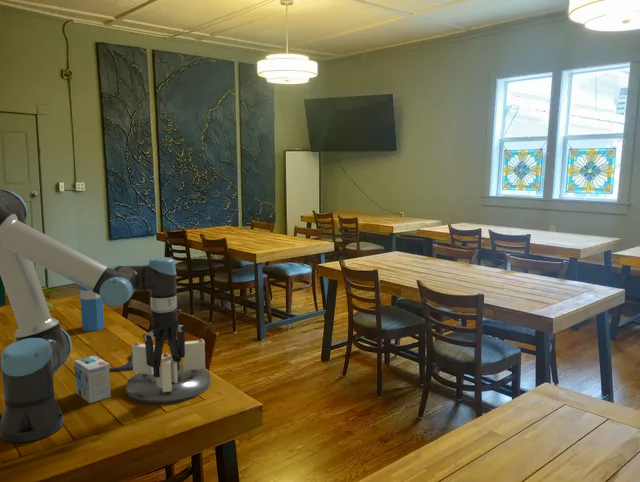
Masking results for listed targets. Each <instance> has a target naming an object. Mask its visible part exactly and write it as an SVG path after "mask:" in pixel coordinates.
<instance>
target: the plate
mask: <svg viewBox="0 0 640 482" xmlns="http://www.w3.org/2000/svg"><path fill="white" fill-rule="evenodd" d="M177 376H178V383H174V382H172V391H170V392H163V388H160V387H158V386H156V377H154V374H152V375H149V374H148V376H146V377H142V373H136V374H134V375H132V376H131V377H130V378H128V380H127V382H126V385H125V387H126V389H125V390H126V394H127V395H126V396H128V397H129V399H131V400H133V401H136V402H138V403H143V404H148V405H149V404H150V405H167V404H175V403H179V402H183V401H188V400H190V399H191V400H192V399H193V398H196V397H198V396H200V395H201V393H202V392H203V393H205V392H206V391H207V390H208V389H209V388H210V386H211V374H210V372H209V371H208V370H207V369H206V368H205V369H197V372H196V373H192V372H191V370H186V371H184V370H183V364H179V371H177ZM208 387H209V388H208ZM207 388H208V389H207ZM206 389H207V390H206ZM205 390H206V391H205ZM204 391H205V392H204ZM203 393H202V394H203ZM199 394H200V395H199ZM195 396H196V397H195ZM187 399H188V400H187Z"/></svg>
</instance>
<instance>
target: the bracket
mask: <svg viewBox="0 0 640 482" xmlns="http://www.w3.org/2000/svg"><path fill="white" fill-rule="evenodd" d="M130 353H131V354H130V360H129V361H128V362H127V363H125V364H123V365H121V366H118V367H109V373H116V372H127V371H133V356H132V350H131V352H130Z"/></svg>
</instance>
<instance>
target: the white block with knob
mask: <svg viewBox="0 0 640 482" xmlns="http://www.w3.org/2000/svg"><path fill="white" fill-rule="evenodd" d="M171 360H172V356H171V353H170V354H169V352H164V353H163V354H162V357H161V366H162V384H163V392H170V391H172V380H171Z"/></svg>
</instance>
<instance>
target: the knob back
mask: <svg viewBox="0 0 640 482" xmlns="http://www.w3.org/2000/svg"><path fill="white" fill-rule="evenodd" d="M153 348H154V349H155V344H153ZM131 351H132V356H133V370H132V372H133V373H136V374H138V373H142V377H146V376H148V374H149V375H152V374H154V373H153V367H151V366H149V365H147V361H146V347H145V343H140V342H138V341H136V342H134V344H132V345H131Z"/></svg>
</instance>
